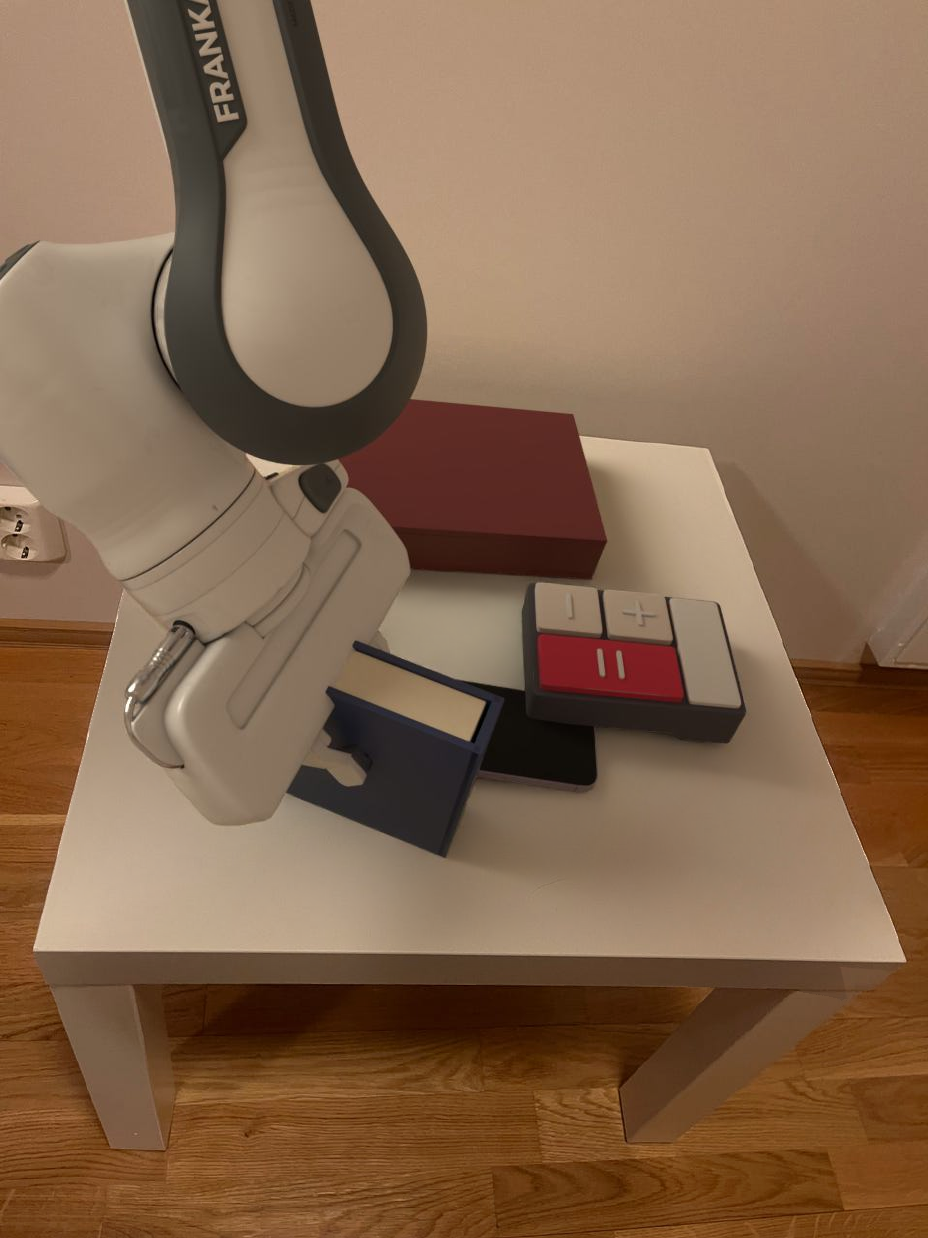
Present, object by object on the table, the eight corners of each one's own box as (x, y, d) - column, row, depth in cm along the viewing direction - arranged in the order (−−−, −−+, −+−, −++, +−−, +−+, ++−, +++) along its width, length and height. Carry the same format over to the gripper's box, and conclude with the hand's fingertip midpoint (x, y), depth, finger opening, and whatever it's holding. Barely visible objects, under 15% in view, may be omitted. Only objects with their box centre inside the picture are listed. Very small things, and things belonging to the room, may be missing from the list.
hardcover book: (445, 858, 56) (482, 755, 47) (251, 778, 57) (251, 662, 48) (466, 805, 59) (505, 698, 50) (280, 730, 60) (285, 612, 51)
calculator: (529, 573, 68) (723, 594, 69) (519, 613, 71) (705, 632, 72) (534, 687, 60) (752, 708, 62) (523, 726, 64) (731, 745, 65)
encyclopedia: (319, 564, 70) (323, 522, 67) (321, 433, 80) (324, 390, 77) (591, 579, 74) (607, 540, 71) (560, 452, 84) (573, 413, 81)
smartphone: (599, 790, 60) (375, 756, 58) (593, 798, 61) (373, 765, 59) (593, 701, 65) (386, 666, 63) (588, 709, 66) (384, 676, 64)
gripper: (145, 704, 38) (343, 894, 44) (347, 437, 51) (476, 611, 58) (66, 725, 41) (259, 897, 48) (273, 470, 55) (402, 631, 61)
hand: (378, 738), depth 53 cm, fingers closed on hardcover book, 4 cm apart
